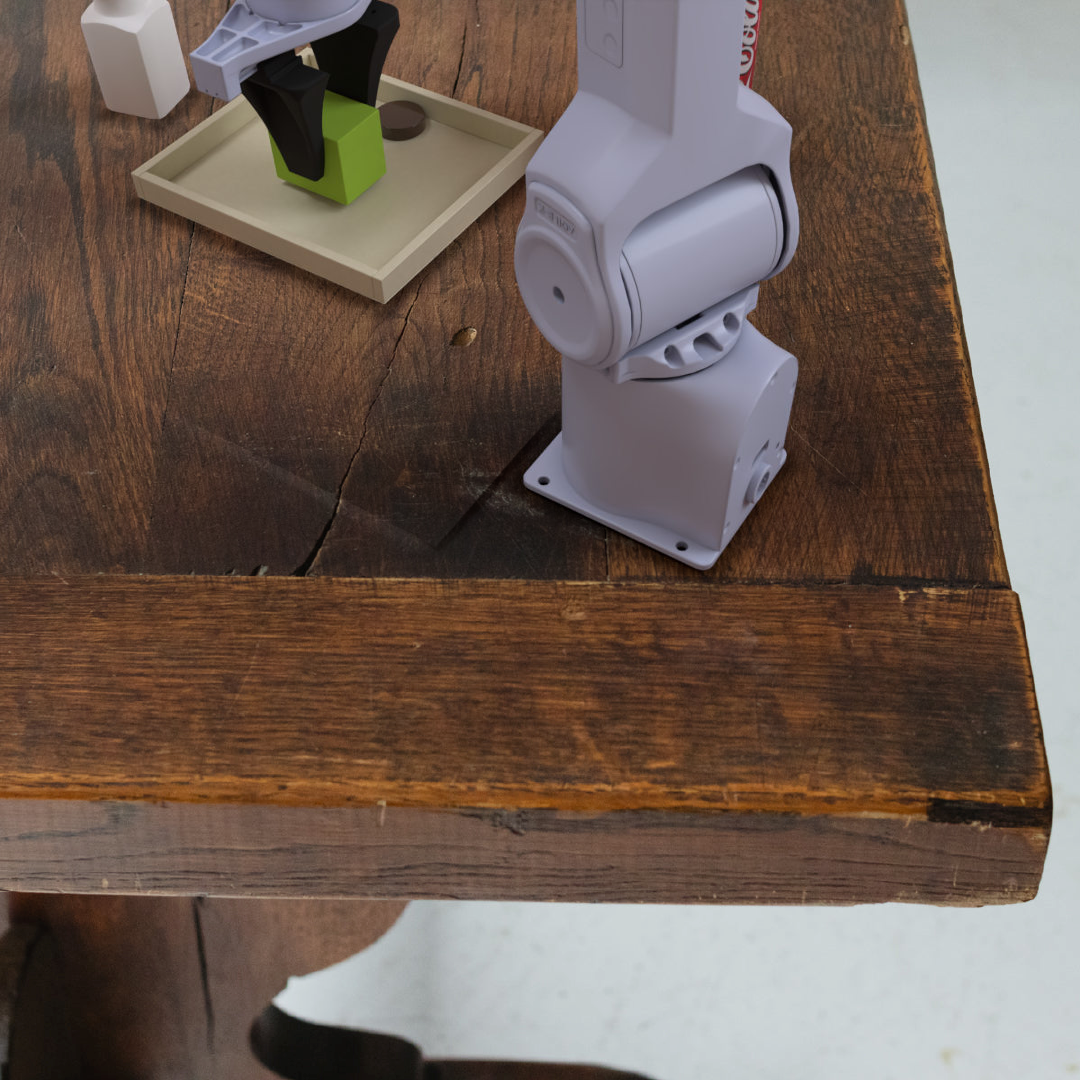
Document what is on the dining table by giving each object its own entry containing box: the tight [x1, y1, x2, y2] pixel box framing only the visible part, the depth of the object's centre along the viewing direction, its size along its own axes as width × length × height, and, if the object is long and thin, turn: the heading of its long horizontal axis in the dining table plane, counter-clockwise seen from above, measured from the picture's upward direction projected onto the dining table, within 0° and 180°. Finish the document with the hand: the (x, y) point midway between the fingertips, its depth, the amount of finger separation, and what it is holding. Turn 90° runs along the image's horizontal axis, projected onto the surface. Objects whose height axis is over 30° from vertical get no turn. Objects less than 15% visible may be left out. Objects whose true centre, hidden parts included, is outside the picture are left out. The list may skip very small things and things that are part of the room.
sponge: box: [267, 90, 387, 205], centre depth 68 cm, size 5×4×4 cm
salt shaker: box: [80, 0, 191, 120], centre depth 73 cm, size 4×4×10 cm
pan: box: [130, 46, 545, 305], centre depth 70 cm, size 17×15×2 cm
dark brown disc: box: [377, 100, 426, 141], centre depth 73 cm, size 3×3×1 cm
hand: (330, 153), depth 69 cm, fingers closed on sponge, 3 cm apart
